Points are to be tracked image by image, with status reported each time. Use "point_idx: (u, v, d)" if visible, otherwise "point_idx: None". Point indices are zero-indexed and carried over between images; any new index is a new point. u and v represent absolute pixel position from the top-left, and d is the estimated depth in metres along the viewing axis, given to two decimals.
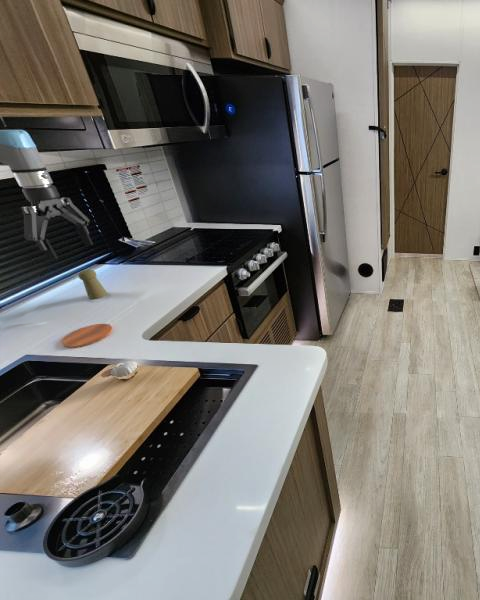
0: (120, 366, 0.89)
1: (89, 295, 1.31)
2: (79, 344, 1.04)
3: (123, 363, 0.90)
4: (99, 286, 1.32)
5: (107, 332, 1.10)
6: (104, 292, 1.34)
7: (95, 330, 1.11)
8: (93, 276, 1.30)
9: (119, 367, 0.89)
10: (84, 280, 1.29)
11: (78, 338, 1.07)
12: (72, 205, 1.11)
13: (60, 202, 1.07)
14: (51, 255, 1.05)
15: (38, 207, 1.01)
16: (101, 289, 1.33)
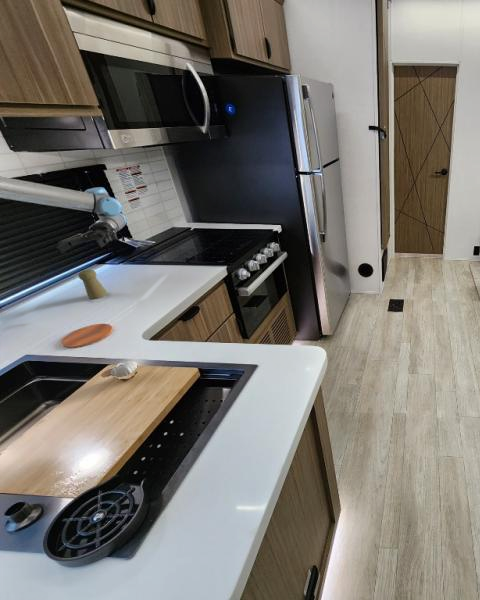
0: (120, 366, 0.89)
1: (89, 295, 1.31)
2: (79, 344, 1.04)
3: (123, 363, 0.90)
4: (99, 286, 1.32)
5: (107, 332, 1.10)
6: (104, 292, 1.34)
7: (95, 330, 1.11)
8: (93, 276, 1.30)
9: (119, 367, 0.89)
10: (84, 280, 1.29)
11: (78, 338, 1.07)
12: None
13: None
14: (102, 244, 1.32)
15: (109, 234, 1.43)
16: (101, 289, 1.33)
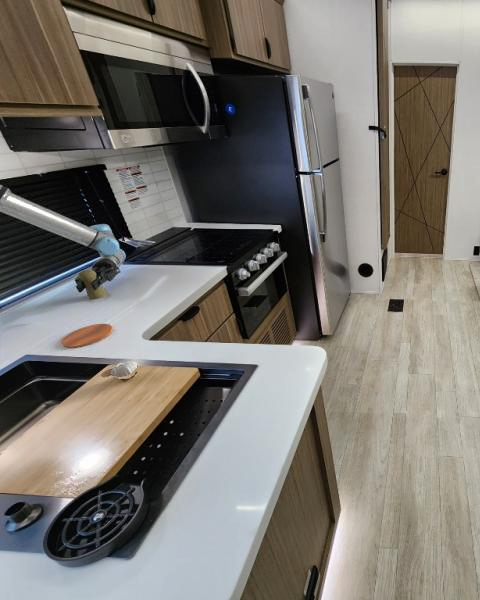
0: (120, 366, 0.89)
1: (89, 295, 1.31)
2: (79, 344, 1.04)
3: (123, 363, 0.90)
4: (99, 286, 1.32)
5: (107, 332, 1.10)
6: (104, 292, 1.34)
7: (95, 330, 1.11)
8: (93, 276, 1.30)
9: (119, 367, 0.89)
10: (84, 280, 1.29)
11: (78, 338, 1.07)
12: None
13: None
14: (96, 286, 1.29)
15: None
16: (101, 289, 1.33)
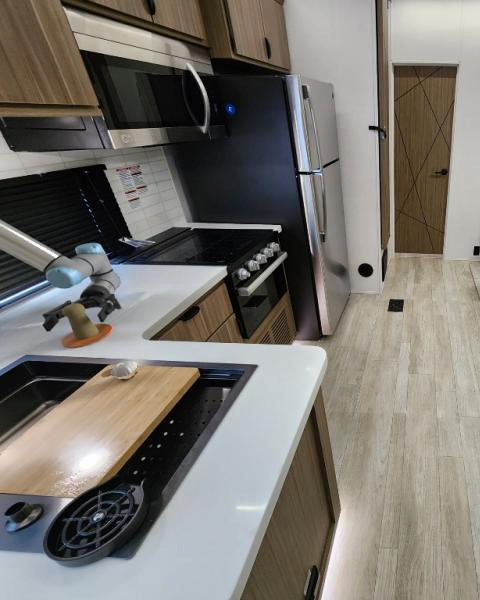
0: (120, 366, 0.89)
1: (76, 335, 1.06)
2: (79, 344, 1.04)
3: (123, 363, 0.90)
4: (88, 323, 1.07)
5: (107, 332, 1.10)
6: (95, 330, 1.09)
7: None
8: (81, 312, 1.05)
9: (119, 367, 0.89)
10: (69, 317, 1.03)
11: None
12: None
13: None
14: (104, 317, 1.07)
15: None
16: (90, 327, 1.08)
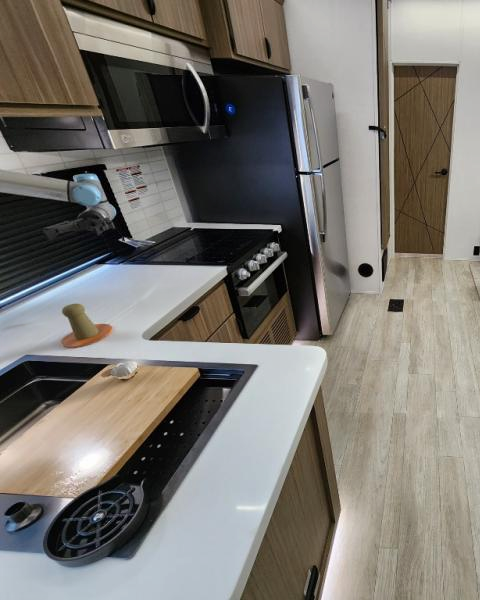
0: (120, 366, 0.89)
1: (76, 335, 1.06)
2: (79, 344, 1.04)
3: (123, 363, 0.90)
4: (88, 323, 1.07)
5: (107, 332, 1.10)
6: (95, 330, 1.09)
7: None
8: (81, 312, 1.05)
9: (119, 367, 0.89)
10: (69, 317, 1.03)
11: None
12: None
13: None
14: (98, 232, 1.18)
15: None
16: (90, 327, 1.08)
